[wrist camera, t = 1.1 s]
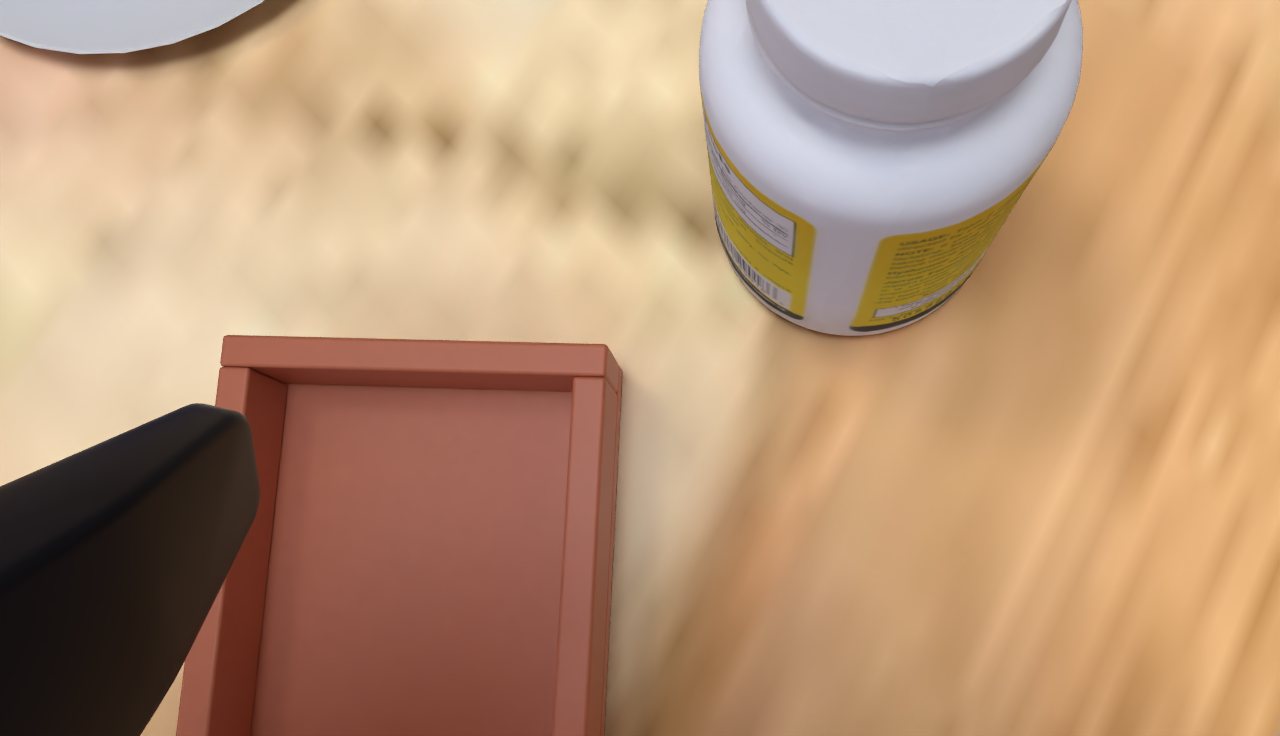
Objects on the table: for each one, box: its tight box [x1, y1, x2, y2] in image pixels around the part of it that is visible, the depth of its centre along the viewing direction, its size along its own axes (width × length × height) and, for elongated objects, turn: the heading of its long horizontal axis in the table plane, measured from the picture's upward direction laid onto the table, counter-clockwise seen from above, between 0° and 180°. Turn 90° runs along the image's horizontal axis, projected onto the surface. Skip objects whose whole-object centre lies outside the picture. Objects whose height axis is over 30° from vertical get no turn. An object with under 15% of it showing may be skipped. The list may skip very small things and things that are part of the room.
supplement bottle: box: [699, 0, 1083, 336], centre depth 18 cm, size 5×5×10 cm
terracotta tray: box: [176, 335, 622, 736], centre depth 21 cm, size 9×7×2 cm
